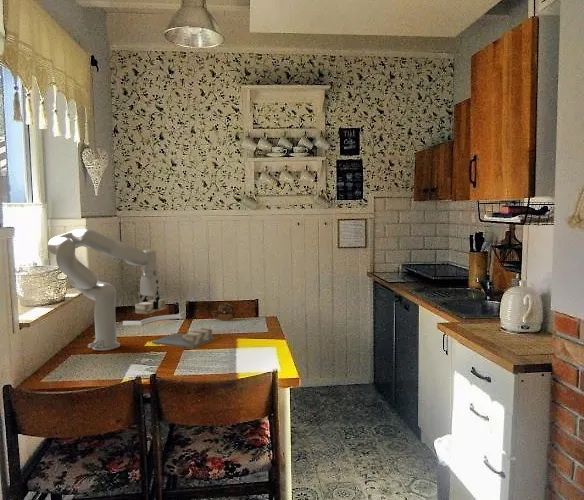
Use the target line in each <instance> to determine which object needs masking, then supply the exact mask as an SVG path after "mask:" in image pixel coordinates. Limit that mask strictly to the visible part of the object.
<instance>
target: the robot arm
mask: <svg viewBox="0 0 584 500" xmlns="http://www.w3.org/2000/svg"><path fill="white" fill-rule="evenodd" d="M81 247H83V248H87V249H90V250H92V251H94V252H97V253H100V254H102V255H104V256H107V257H111V258H115V259H121V260H124V262H125V263H126V264H128V265H130V266H138V267H141V268H140V269H141V277H140V284H139V285H140V286H139V291H138V292H137V295H138V296H139V298H140V299H141V301H142V303H143V302H147V301H149V299H148V297H152V300H154V302H153V308H154V309H158V301H159V299H162V297H163V295H164V294H163V292H162V289H161V282H160V277H159V276H158V274H159V272H158V270H157V264H158V263H157V252H156V250H155V249H143V250H142V249H140V248H137V247H135V246H132V245H130V244H127V243H125V242H122V241H120V240H117V239H114V238H112V237H109V236H107V235H105V234H102V233H100V232H98V231H96V230H94V229H90V228H78V229H73V230H71V231H68V232H66V233H62V234H59V235H57V236H53V237H52V238H51V239H50V240H49V241H48V243H47V250H48V251H49V252H50V253H51V254H53V255H55V261H56V264H57V265H56V266H57V268H58V269H59V271H60V272H62V273H63V274H64V275H65V276H66V277H67V278H68V281H69V282H68V283H69V284H70V285H71V286H72V288H75V290H77V291H79V292H80V293H81V294H83V295H84V296H85V297H87V298H88V299H90V300H92V301H95V302H94V306H93V307H94V308H93V315H94V334H95V335H94V336H95V339H93V342H90V343H88V344H87V348H89V349H90V348H92V350H94V351H98V352H99V351H100V352H101V351H110V350H111V351H112V350H115V349H118V348H119V347H120V346H121V343H120V342H118V340H117V323H116V320H117V319H116V300H117V289H116V288H115V287H114V286H113V284H111V283H109V282H105V281H100V280H99V279H98V276H97V274H96V272H94V271H92V270H91V269H90V268H88V267H87V266H86V265H85V264H83V263H82V262H80V260H79V259H78V258H77V256H76V249H77V248H81Z"/></svg>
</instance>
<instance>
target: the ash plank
mask: <svg viewBox="0 0 584 500" xmlns="http://www.w3.org/2000/svg"><path fill="white" fill-rule="evenodd" d="M153 302H154V299H151V300H148V301H147V302H143V301H142V302H139V303H135V305H134V308H135V309H134V312H135V314H141V315H149V314H153V313H155V312H159V311H162V310H163V311H164V310H166V309H168V306H167V305H166V300H165V299H162V298H160V299H159V301H158V309H154V308H153Z"/></svg>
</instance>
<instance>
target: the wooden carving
mask: <svg viewBox="0 0 584 500" xmlns="http://www.w3.org/2000/svg"><path fill="white" fill-rule="evenodd" d="M216 308H217V310H213V311H211V312H210V313H211V315H212V317H213V319H219V320H221V321H230V320H232V319H235V318H236V316H235V314H238V312H237V311H235V310H234V309H235V306H234V304H230V303H226V302H225V303H220V304H217V307H216Z"/></svg>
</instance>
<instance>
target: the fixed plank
mask: <svg viewBox="0 0 584 500" xmlns="http://www.w3.org/2000/svg"><path fill="white" fill-rule="evenodd" d="M212 337H213V329H212V328H205V327H201V328H198V329H196V330H194V331H190V332H188V333H185V335H182V338H183V342H186V345H190V346H194V345H196V344H199V343H201V342H203V341H206V340H208V339H211V338H212Z"/></svg>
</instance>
